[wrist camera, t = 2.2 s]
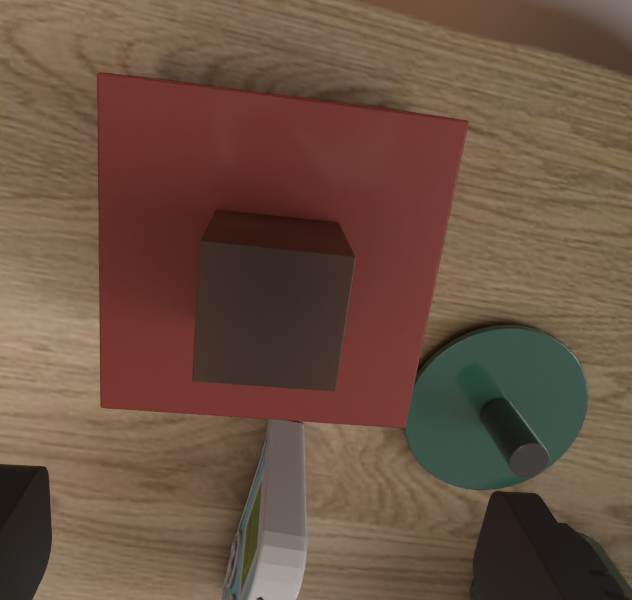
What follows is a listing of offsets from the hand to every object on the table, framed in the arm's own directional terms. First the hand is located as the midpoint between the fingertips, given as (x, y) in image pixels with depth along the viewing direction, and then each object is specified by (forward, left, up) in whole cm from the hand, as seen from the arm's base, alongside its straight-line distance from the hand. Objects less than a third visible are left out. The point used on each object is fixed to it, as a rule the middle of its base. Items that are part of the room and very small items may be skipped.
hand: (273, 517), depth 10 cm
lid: (-16, +11, -23) cm, 30 cm away
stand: (0, 0, -24) cm, 24 cm away
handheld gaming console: (-1, +21, -24) cm, 32 cm away
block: (0, 0, -14) cm, 14 cm away
